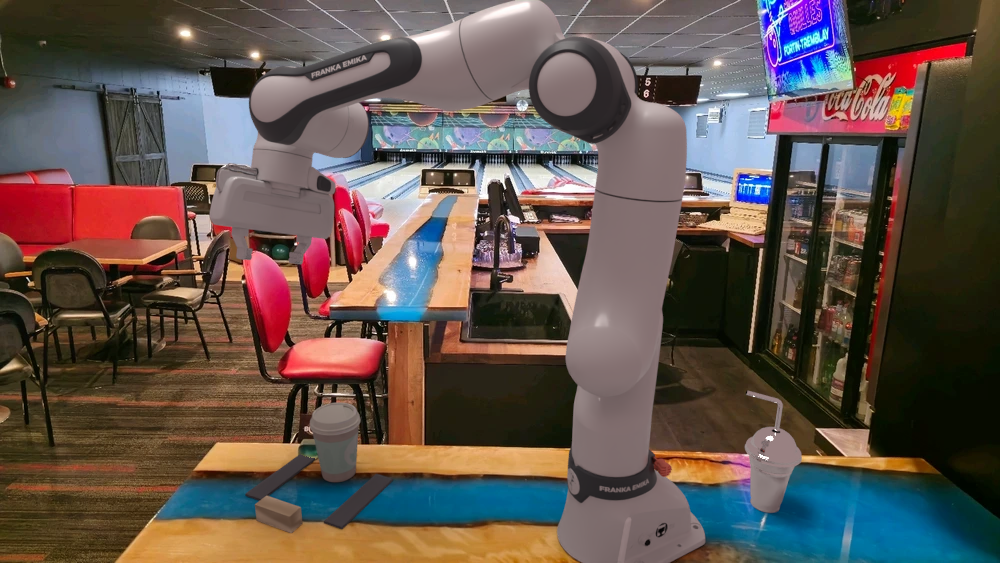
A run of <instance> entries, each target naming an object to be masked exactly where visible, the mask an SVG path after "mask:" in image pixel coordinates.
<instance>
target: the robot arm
mask: <svg viewBox="0 0 1000 563" xmlns="http://www.w3.org/2000/svg"><path fill="white" fill-rule="evenodd" d="M526 90H528V92H529V99H530V101H531V103H532V104H531V105H532V107H533V108H534V110H535V112H536V113H537V114H538V116H540V118H541V119H542V120H543V121H544V122H546V123H547V124H549V125H550V126H551V127H553V128H555V129H556V130H557V131H560V132H563V133H564V134H568V135H570V136H572V137H575V139H576V138H577V139H578V140H581V141H583V142H585V143H588V144H591V145H592V144H593V145H595V146H596V149H597V156H598V157H597V158H598V159H597V160H598V163H597V174H596V180H595V188H594V196H593V202H592V211H591V218H590V226H589V234H588V241H587V247H586V253H585V257H584V261H583V264H582V270H581V272H580V278H579V283H578V287H577V292H576V297H575V301H574V306H573V311H572V317H571V322H570V327H569V334H568V337H567V343H566V348H565V349H566V350H565V363H566V364H565V365H566V368H567V371H568V374H569V375H570V376H571V377H570V378H572V380H573V381H574V382H575V384H576V385H577V387H576V393H575V397H574V403H573V412H572V413H573V414H572V415H573V416H572V438H571V440H572V441H571V447H570V448H569V451H568V457H567V458H568V459H567V476H566V478H567V494H566V500H565V504H564V509H563V512H562V514H561V517H560V520H559V522H558V524H557V529H556V530H557V531H556V533H557V539H558V542H559V544H560V545H561V547H562V548H563V549H564V551H565V552H566V553H567V554H569V555H570V556H571V557H572V558H574V559H575V560H576V561H578V562H580V563H671V562H674V561H675V560H678V559H680V558H681V557H683V556H685V555H687V554H689V553H691V552H693V551H694V550H696V549H699V548H700V547H702V546H703V545H705V543H706V534H705V530H704V528H703V526H702V524H701V523H700V521H699V520H698V518H697V517H696V516H695V514H693V513H692V512H691V509H690V508H691V507H690V505H689V501H688V500H687V498H686V495H685V494H684V493H683V491H682V490H681V489H680V488H679V486H677V485H676V484H675V483H674V482H673V481H672V480H671V479H669V478H668V476H669V475H670V474H671V473H672V470H673V469H672V468H673V467H672V466H671V464H669V463H668V462H666V459H664V458H657V457H656V454H655V453H654V452H653V451H652V450H651V449H650V441H651V439H650V438H651V429H652V428H651V426H652V416H653V407H654V399H655V393H656V385H657V376H658V369H659V360H660V353H661V352H660V351H661V343H662V336H663V335H662V333H663V324H664V316H663V315H664V314H663V305H664V299H665V295H666V291H667V290H666V289H667V285H668V280H669V275H670V270H671V266H672V262H673V261H672V260H673V256H674V249H675V244H676V237H677V233H678V232H677V231H678V226H679V220H680V215H681V210H682V203H683V196H684V190H685V184H686V175H687V173H686V172H687V161H688V160H687V158H688V156H687V155H688V139H687V125H686V123H685V121H684V119H683V117H682V116H681V114H679V113H678V111H676V110H674V109H672V108H671V107H669V106H667V105H664V104H661V103H657V102H651V101H650V102H649V101H645V100H642V99H641V98H639V97H638V91H639V81H638V75H637V72H636V70H635V68H634V65H633V64H632V62H631V60H629V59H628V57H627V56H626V55H625V54H623V53H622V52H620V51H619V50H618V49H617V48H616V47H614V46H613V45H611V44H609V43H608V42H605V41H602V40H598V39H594V38H589V37H585V36H570V37H565V35H564V34H563V31H562V28H561V25H560V23H559V20H558V18H557V16H556V14H555V13H554V12H553V10H552V9H551V8H550V7H549V6H548V5H547V4H546V3H545V2H543V1H542V0H511V1H507V2H502V3H499V4H496V5H494V6H491V7H487V8H484V9H482V10H478V11H476V12H474V13H472V14H469V15H467V16H465V17H463V18H460V19H459V20H456V21H453V22H451V23H449V24H445V25H443V26H440V27H437V28H435V29H432V30H428V31H424V32H421V33H417V34H412V35H407V36H401V37H396V38H391V39H386V40H381V41H377V42H374V43H370V44H367V45H364V46H360V47H359V48H355V49H352V50H350V51H347V52H344V53H340V54H338V55H335V56H332V57H329V58H326V59H324V60H321V61H318V62H315V63H312V64H309V65H305V66H291V65H281V66H277V67H275V68H274V67H273V68H272V69H271V70H269V71H267V72H266V73H265V74H263V75H262V76H261V77H259V79H258V80H257V81H256V82H255V83H254V85H253V87H252V89H251V91H250V93H249V97H248V109H249V115H250V119H251V121H252V124H253V125H254V127H255V129H256V131H257V137H256V141H255V143H254V145H253V147H252V148H253V150H252V156H251V165H250V166H244V165H239V164H236V163H234V162H233V163H230V162H229V163H227V164H225V165H222V167H220V168H219V169H218V170H217V172H216V179H215V185H216V186H215V190H214V193H213V197H212V199H211V204H210V209H209V219H210V220H211V222H212V224H213V225H214V226H222V227H229V228H231V235H230V236H232V240H233V242H234V244H235V247H236V254H235V256H236V257H235V258H236V260H237V259H238V260H244V261H251V260H252V258H253V256H252V255H253V250H254V249H253V248H250V247H248V242H247V241H246V238H245V237H249V230H252V231H253V230H254V231H259V232H261V231H262V232H268V233H278V234H283V235H284V234H285V235H292V236H296V241H295V242H296V243H298V244H297V245H296V247H295V249H294V251H293V252H291V251H290V252H289V258H288V262H289V263H290V264H295V265H302V264H303V263H304V255H305V254H306V252H307V251H308V249H309V248H310V246H312V240H313V238H314V239H315V238H316V239H323V240H327V239H328V238H329V237H330V235H332V232H333V227H334V220H335V218H334V217H335V202H334V199H333V197H332V196H331V195H334V194H335V192H336V187H337V186H336V182H335V181H334V180H333V179H331V178H329V177H328V176H326V175H325V174H323V173H322V172H320V171H319V170H317V169H316V168H315V167H314V166H313V156H314V154H319V155H323V156H326V157H330V158H335V159H342V158H343V159H346V158H347V159H348V158H351V157H353V156H354V155H356V154H357V153H358V152H359V151H361V149H362V148H363V147H364V145H365V144H366V141H367V138H368V135H369V132H370V131H369V130H370V122H369V116H368V113H367V110H366V109H365V107H364V106H363V105H362V102H364V101H368V100H372V99H383V98H384V99H386V98H387V99H396V100H403V101H409V102H413V103H417V104H419V105H420V104H421V105H424V106H428V107H431V108H434V109H439V110H442V111H447V112H454V111H463V110H468V109H474V108H478V107H480V106H483V105H488V104H489V103H491V102H493V101H496V100H499V99H501V98H504V97H506V96H509V95H512V94H513V93H517V92H521V91H526Z"/></svg>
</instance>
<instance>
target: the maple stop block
mask: <svg viewBox="0 0 1000 563" xmlns="http://www.w3.org/2000/svg"><path fill="white" fill-rule="evenodd" d="M254 507H255V508H254V509H255V516H256V521H257V522H260V523H262V524H265V525H267V526H270V527H273V528H276V529H279V530H281V531H284V532H287V533H289V534H292V533H293V532H294V531H296V530H297V529H298V528H299V527H300V526H301V525H303V516H302V507H301V506H299V505H295V504H292V503H290V502H286V501H284V500H281V499H278V498H275V497H272V496H270V495H269V496H265V497H264V498H263V499H261V500H260V501H259V500H258V502H256V503H255V504H254Z"/></svg>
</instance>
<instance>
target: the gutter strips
mask: <svg viewBox="0 0 1000 563" xmlns="http://www.w3.org/2000/svg"><path fill="white" fill-rule="evenodd" d="M314 460H315V458H311V457H310V458H309V457H307V456H306V457H305V456H303V455H301V453H299V454H298V455H297V456H295V457H294V458H292V459H291V460H290V461H289V462H287V463H286V464H284V465H282V466H281V467H280V468H279V469H277V470H276V471H274V472H273V473H272V474H271V475H269V476H268V477H266V478H265V479H263V480H262V481H261V482H259V483H258V484H257V485H255V486H254V487H252V488H251V489H250V490H248V491H247V492H246V493H245V496H246V497H248V498H251V499H254V500H256V501H258V502H259V501H260V500H261V499H263V498H264V497H265V496H270V495H272V494H273V493H274V492H275V491H277V490H278V489H279V488H281V487H282V486H283V485H285V484H286V483H287V482H289V481H291V479H293V478H294V477H296V476H297V475H298V474H300V473H301V472H302V471H303V470H304V469H306V468H307V467H309V466H310V465H311V464H312V463H314V462H315V461H316V460H315V461H314ZM313 461H314V462H313ZM393 481H394V478H393V477H388V476H385V475H383V474H378V473H375V474H374V475H373V476H372V477H370V479H369V480H367V481H366V482H365V483H364V484H363V485H362V486H361V487H360V488H359V489H358V490H356V491H355V492H354V493H353V494H351V496H350V497H348V499H347V500H346V501H344V502H343V503H342V504H340V505H339V507H338V508H336V509H335V510H334V511H333V512H332V513H331V514H330V515H329V516H327V517H326V519H324V520H323V523H324V524H326V525H329V526H331V527H335V528H337V529H340V530H343V529H344V528H345V527H346V526H347V525H349V523H350V522H352V520H353V519H355V518H356V517H357V516H358V515H359V514H360V513H361V512H362V511H363V510H364V509H365V508H366V507H367V506H369V504H370V503H372V501H374V499H376V498H377V497H378V496H379V495H380V493H382V492H383V491H385V489H386V488H387V487H388V486H389V485H390V484H391V483H392V482H393Z"/></svg>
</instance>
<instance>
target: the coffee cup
mask: <svg viewBox="0 0 1000 563" xmlns="http://www.w3.org/2000/svg"><path fill="white" fill-rule="evenodd" d="M360 423H361V417H360V414H359V412H358V410H357V408H356V407H355V406H354V405H353V404H350V403H348V402H331V403H328V404H327V403H326V404H323V405H320V406H319V407H318V408H316V409H315V410H314V411H313V412H312V414H311V418H310V420H309V429H310V430H311V431H312V436H313V440H314V445H315V450H316V453H317V456H318V462H319V467H320V471H321V476H322V478H323V479H324V481H327V482H329V483H341V482H345V481H348V480H350V479H351V478H352V477H354V476H355V474H356V472H357V460H358V458H357V456H358V444H359V443H358V439H359V425H360Z"/></svg>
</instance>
